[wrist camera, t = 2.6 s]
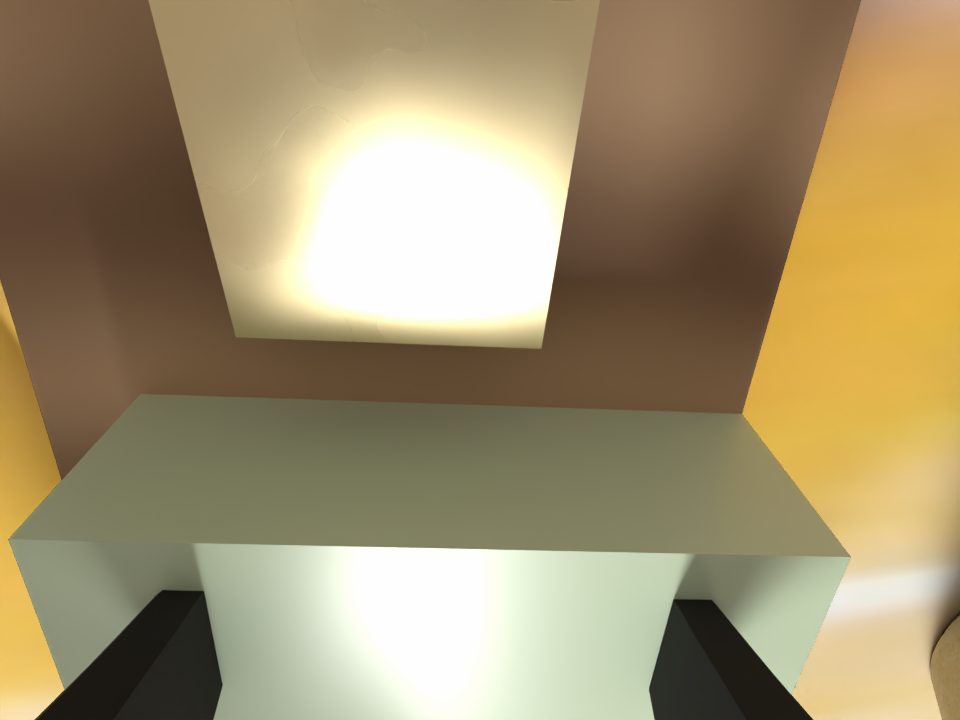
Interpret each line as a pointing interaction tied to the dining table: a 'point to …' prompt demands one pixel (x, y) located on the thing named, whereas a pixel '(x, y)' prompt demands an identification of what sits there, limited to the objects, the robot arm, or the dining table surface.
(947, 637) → the plant pot
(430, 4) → the tan flat block
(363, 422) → the light green rectangular bar
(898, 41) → the dining table surface
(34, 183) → the panel
